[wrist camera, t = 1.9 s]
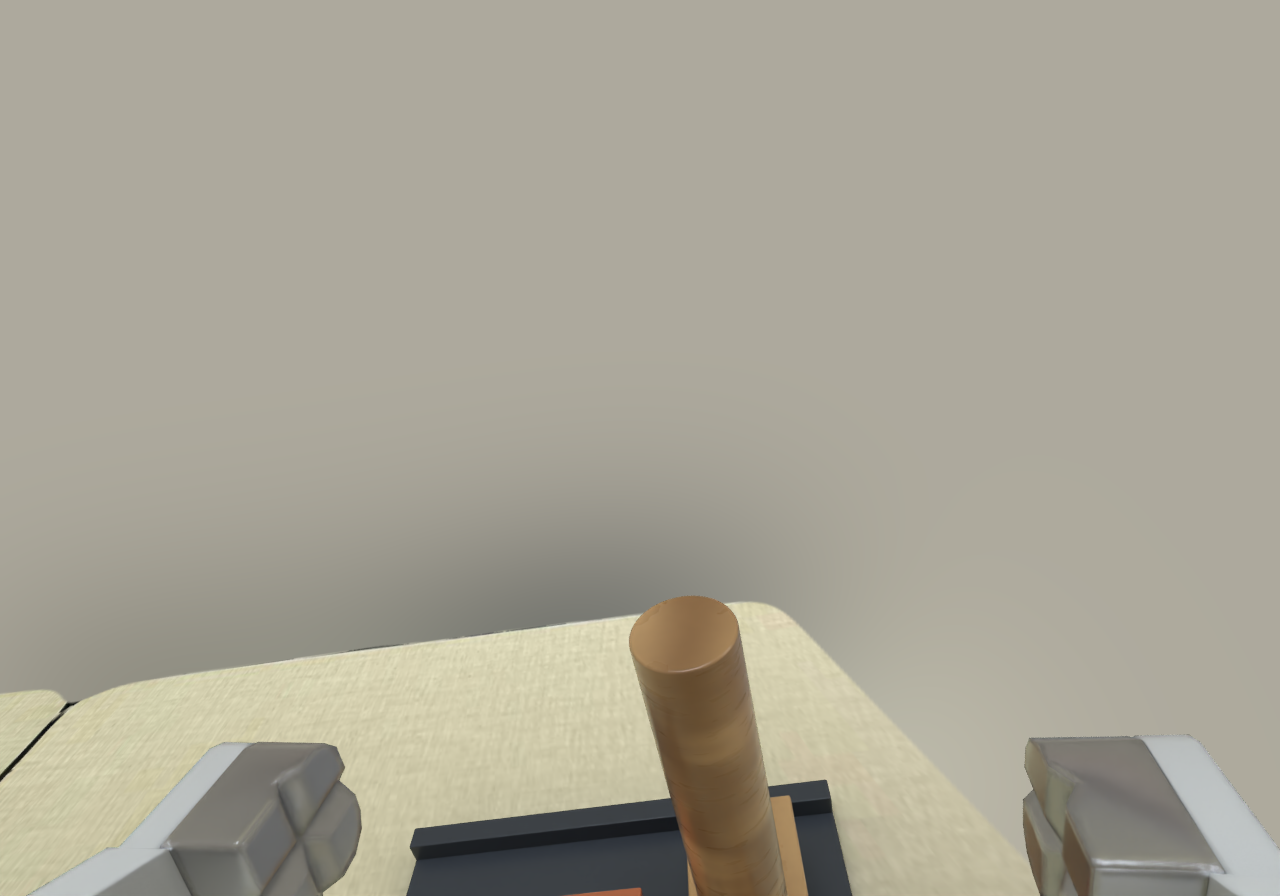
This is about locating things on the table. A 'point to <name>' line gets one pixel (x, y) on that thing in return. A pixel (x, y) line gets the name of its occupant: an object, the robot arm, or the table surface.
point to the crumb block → (614, 893)
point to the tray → (602, 851)
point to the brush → (714, 751)
